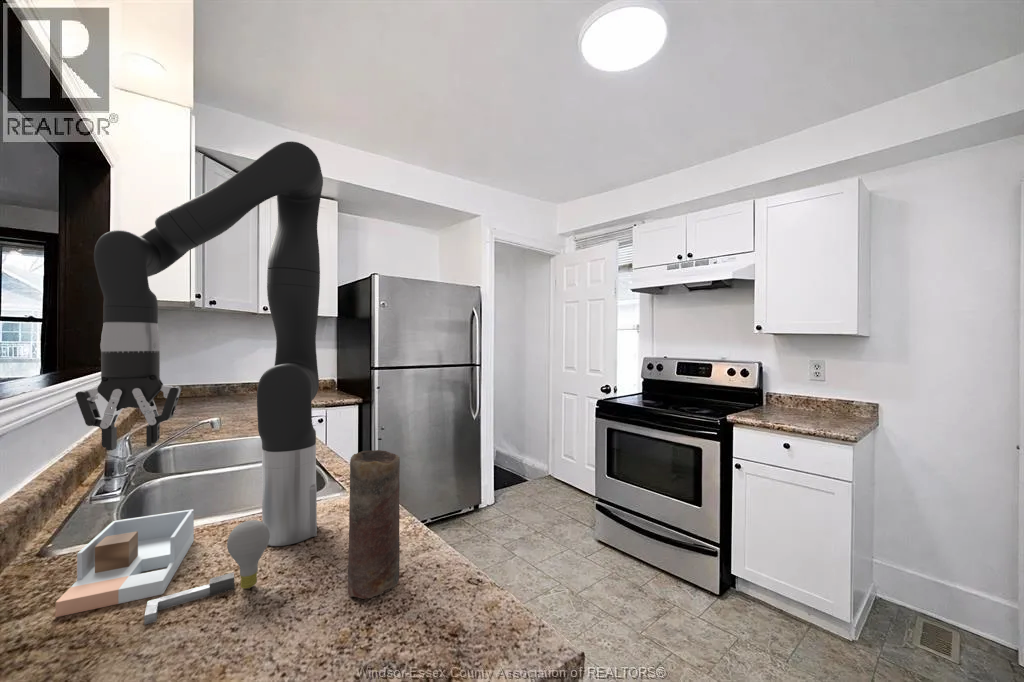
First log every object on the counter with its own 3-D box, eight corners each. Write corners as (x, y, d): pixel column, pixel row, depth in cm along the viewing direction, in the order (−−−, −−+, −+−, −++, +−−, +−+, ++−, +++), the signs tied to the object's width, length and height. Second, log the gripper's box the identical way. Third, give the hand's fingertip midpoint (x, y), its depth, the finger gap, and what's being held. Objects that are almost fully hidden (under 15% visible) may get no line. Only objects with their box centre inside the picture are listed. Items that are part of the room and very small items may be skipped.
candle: (386, 569, 68) (385, 446, 68) (410, 587, 63) (409, 454, 63) (339, 589, 63) (338, 455, 63) (361, 610, 57) (360, 464, 58)
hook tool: (233, 583, 64) (233, 572, 64) (235, 597, 61) (235, 584, 61) (147, 608, 58) (147, 595, 58) (144, 625, 55) (144, 611, 55)
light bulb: (278, 581, 65) (277, 516, 65) (245, 601, 60) (245, 531, 60) (252, 575, 67) (252, 512, 67) (218, 594, 61) (218, 526, 62)
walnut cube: (137, 555, 69) (137, 531, 69) (128, 566, 66) (128, 541, 66) (105, 561, 68) (106, 536, 68) (94, 573, 64) (94, 546, 64)
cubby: (193, 541, 79) (193, 509, 79) (162, 594, 62) (162, 553, 62) (113, 555, 74) (113, 520, 74) (55, 617, 57) (55, 572, 57)
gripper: (187, 348, 79) (188, 439, 79) (86, 349, 73) (85, 448, 72) (177, 348, 72) (177, 447, 72) (63, 350, 66) (63, 458, 66)
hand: (131, 447), depth 72 cm, fingers open, 4 cm apart
